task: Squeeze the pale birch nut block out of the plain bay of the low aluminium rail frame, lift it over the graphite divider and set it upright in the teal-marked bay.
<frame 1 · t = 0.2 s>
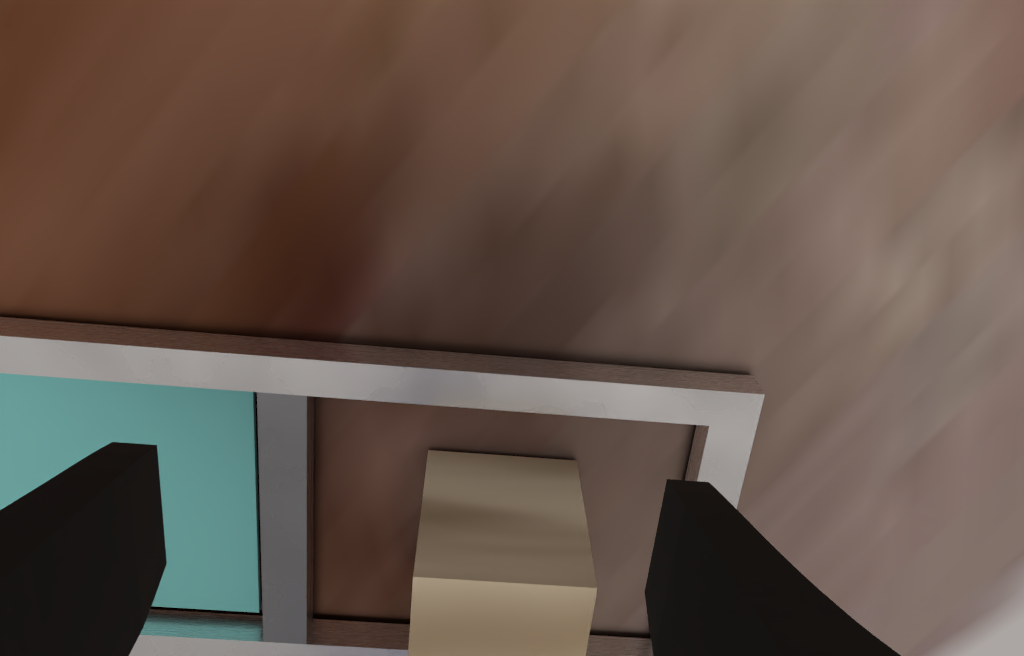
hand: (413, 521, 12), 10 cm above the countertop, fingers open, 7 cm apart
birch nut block: (496, 516, 24), resting in rail frame
rail frame: (291, 504, 24), on the countertop
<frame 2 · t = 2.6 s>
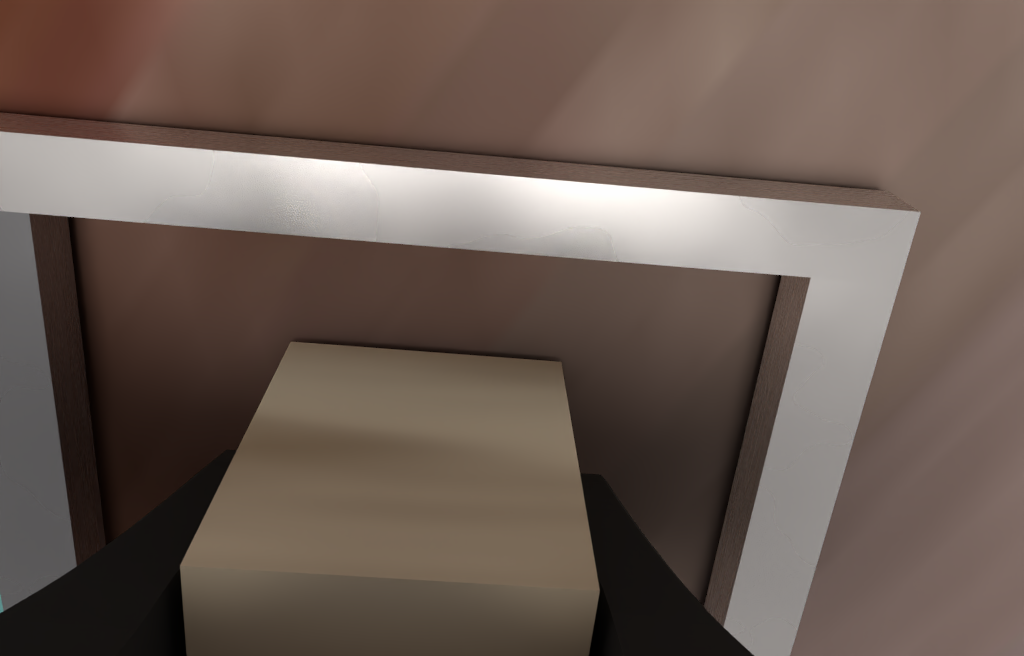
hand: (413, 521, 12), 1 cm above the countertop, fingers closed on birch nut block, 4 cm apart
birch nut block: (420, 466, 14), resting in rail frame, touching gripper
rail frame: (54, 442, 13), on the countertop
when the fingers open (3 cm above the countertop, at t = 6.6 s): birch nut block stays where it is, resting on rail frame.
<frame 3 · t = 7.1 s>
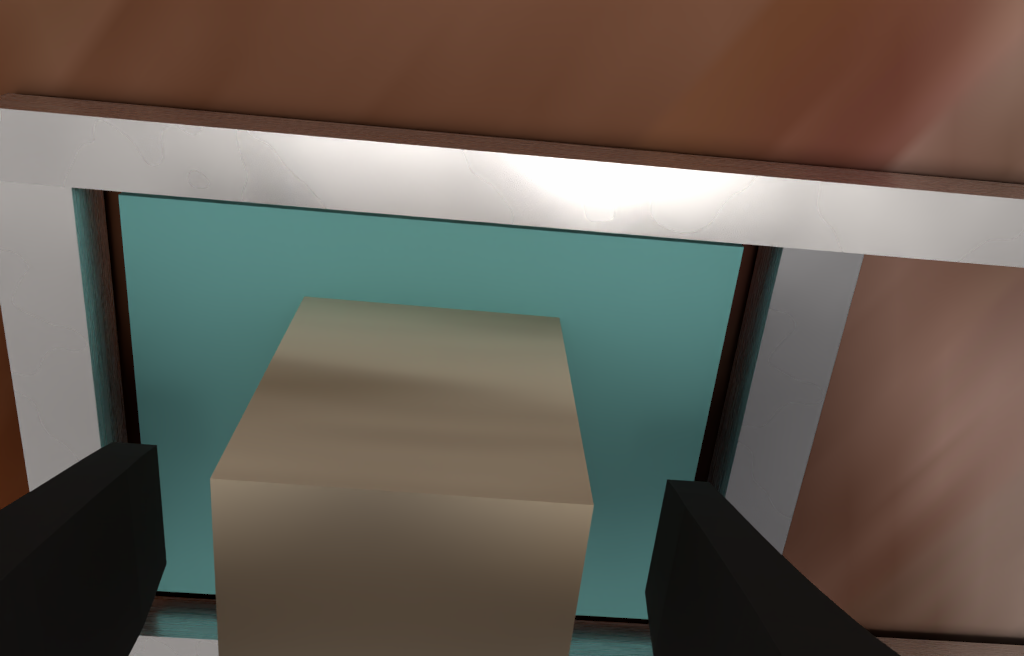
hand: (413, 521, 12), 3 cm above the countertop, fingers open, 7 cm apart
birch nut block: (425, 417, 14), resting on rail frame
rail frame: (748, 449, 15), on the countertop
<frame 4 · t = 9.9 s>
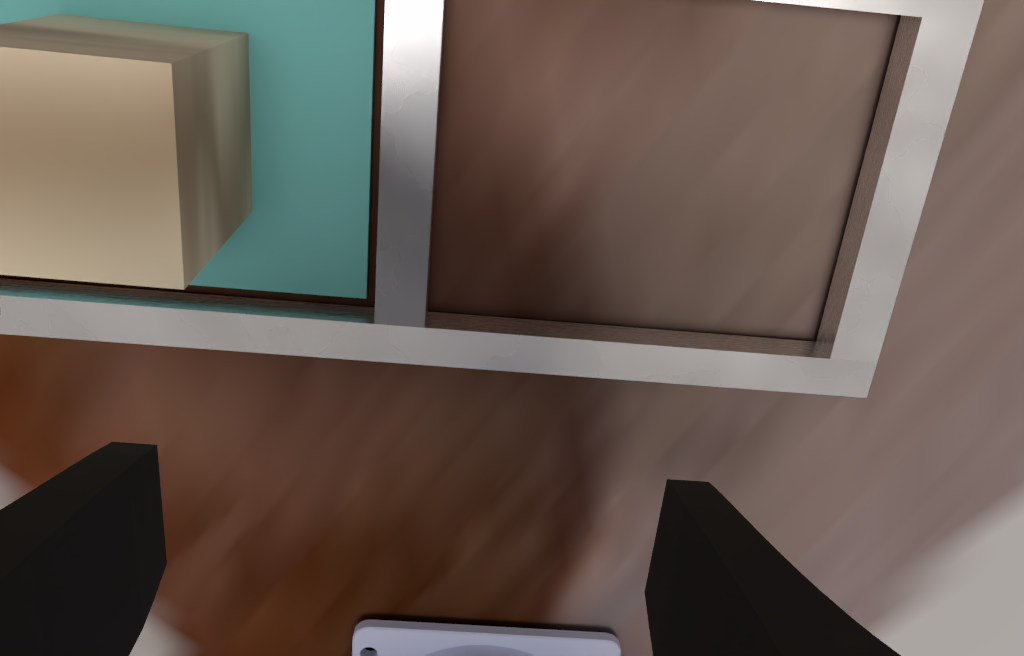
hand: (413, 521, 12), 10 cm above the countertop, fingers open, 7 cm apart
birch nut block: (160, 117, 20), resting on rail frame
rail frame: (410, 151, 20), on the countertop
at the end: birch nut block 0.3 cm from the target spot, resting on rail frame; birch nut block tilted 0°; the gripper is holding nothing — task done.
